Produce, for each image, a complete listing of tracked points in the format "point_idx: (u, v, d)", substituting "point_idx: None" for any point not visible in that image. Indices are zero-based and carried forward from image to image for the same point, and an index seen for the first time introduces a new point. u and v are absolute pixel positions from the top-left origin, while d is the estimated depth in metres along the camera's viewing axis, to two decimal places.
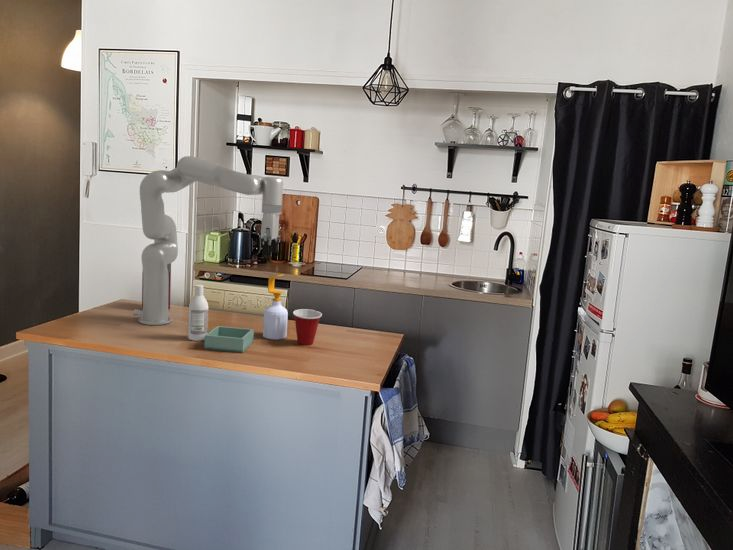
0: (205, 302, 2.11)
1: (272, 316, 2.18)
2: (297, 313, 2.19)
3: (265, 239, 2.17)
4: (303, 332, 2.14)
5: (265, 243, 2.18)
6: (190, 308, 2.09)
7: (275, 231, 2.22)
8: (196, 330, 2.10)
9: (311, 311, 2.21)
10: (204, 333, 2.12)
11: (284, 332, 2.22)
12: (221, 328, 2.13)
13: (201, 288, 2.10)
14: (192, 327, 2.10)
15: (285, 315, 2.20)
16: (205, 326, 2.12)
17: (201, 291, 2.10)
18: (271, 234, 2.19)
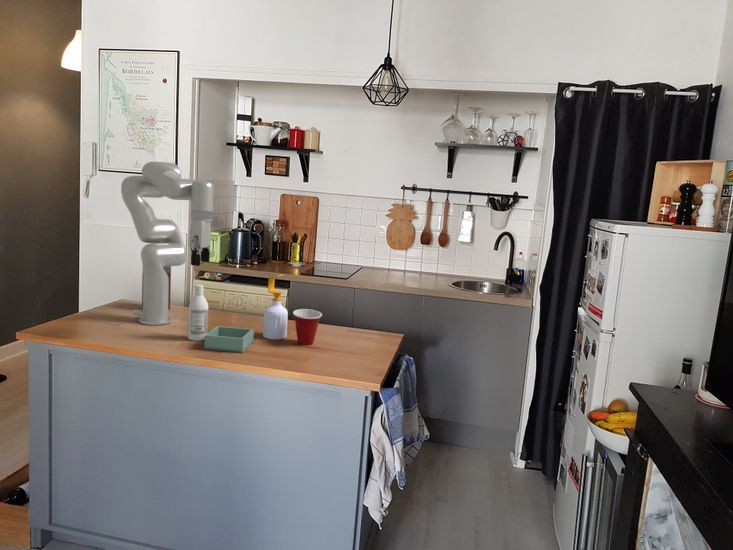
0: (205, 302, 2.11)
1: (272, 316, 2.18)
2: (297, 313, 2.19)
3: (192, 248, 2.01)
4: (303, 332, 2.14)
5: (193, 252, 2.02)
6: (190, 308, 2.09)
7: (205, 239, 2.06)
8: (196, 330, 2.10)
9: (311, 311, 2.21)
10: (204, 333, 2.12)
11: (284, 332, 2.22)
12: (221, 328, 2.13)
13: (201, 288, 2.10)
14: (192, 327, 2.10)
15: (285, 315, 2.20)
16: (205, 326, 2.12)
17: (201, 291, 2.10)
18: (200, 242, 2.03)
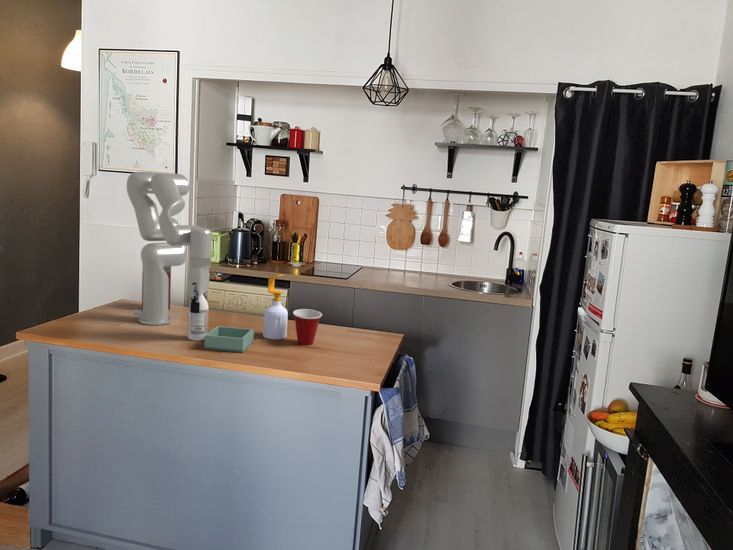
0: (205, 302, 2.11)
1: (272, 316, 2.18)
2: (297, 313, 2.19)
3: (192, 297, 2.04)
4: (303, 332, 2.14)
5: (192, 300, 2.06)
6: None
7: (203, 285, 2.09)
8: (196, 330, 2.10)
9: (311, 311, 2.21)
10: (204, 333, 2.12)
11: (284, 332, 2.22)
12: (221, 328, 2.13)
13: None
14: (192, 327, 2.10)
15: (285, 315, 2.20)
16: (206, 326, 2.12)
17: None
18: (198, 289, 2.06)
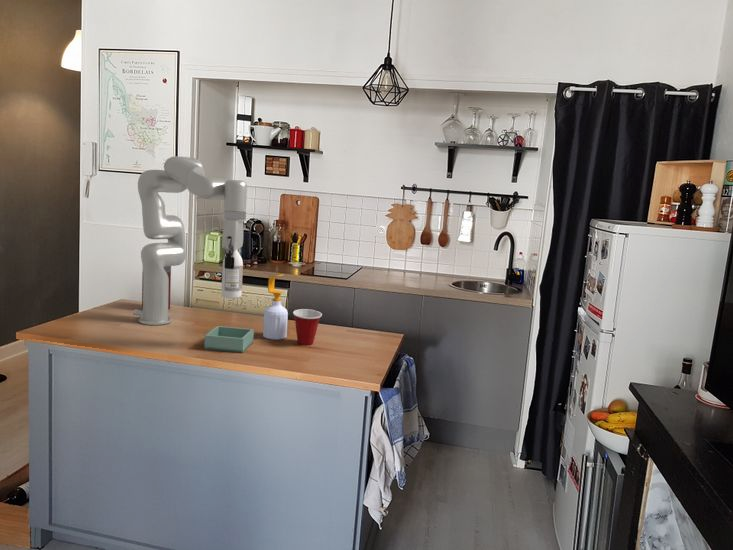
0: (240, 258, 2.02)
1: (272, 316, 2.18)
2: (297, 313, 2.19)
3: (227, 251, 1.96)
4: (303, 332, 2.14)
5: (227, 255, 1.97)
6: (224, 264, 2.01)
7: (238, 240, 2.00)
8: (231, 287, 2.01)
9: (311, 311, 2.21)
10: (238, 290, 2.03)
11: (284, 332, 2.22)
12: (221, 328, 2.13)
13: None
14: (226, 283, 2.01)
15: (285, 315, 2.20)
16: (240, 283, 2.03)
17: None
18: (233, 243, 1.97)
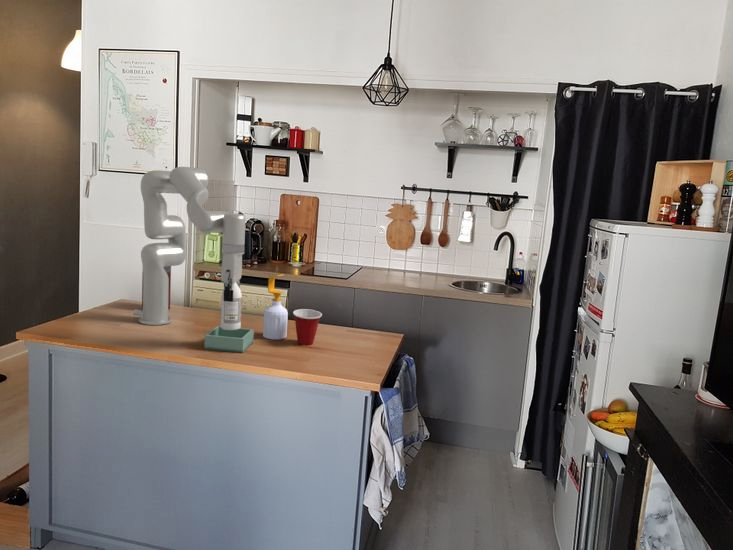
0: (239, 290, 2.04)
1: (272, 316, 2.18)
2: (297, 313, 2.19)
3: (226, 285, 1.98)
4: (303, 332, 2.14)
5: (226, 288, 1.99)
6: (223, 296, 2.02)
7: (237, 273, 2.02)
8: (230, 319, 2.03)
9: (311, 311, 2.21)
10: (237, 322, 2.05)
11: (284, 331, 2.22)
12: (221, 328, 2.13)
13: None
14: (225, 316, 2.03)
15: (285, 315, 2.20)
16: (239, 315, 2.05)
17: None
18: (232, 277, 1.99)
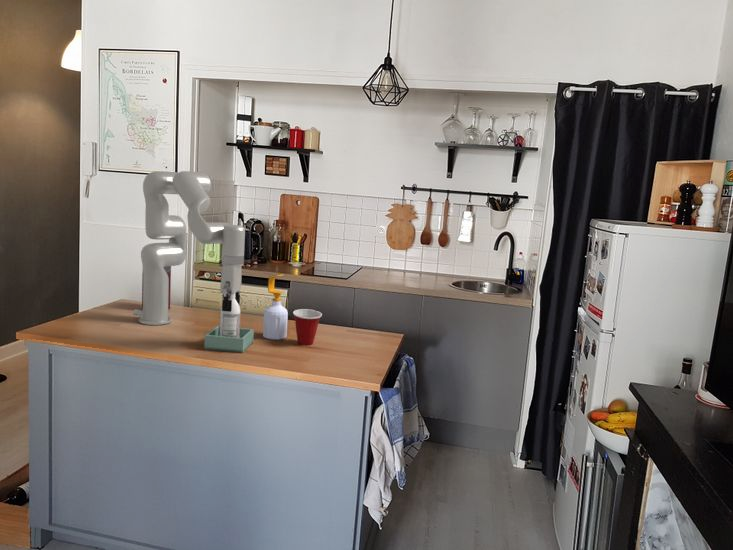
0: (237, 306, 2.05)
1: (272, 316, 2.18)
2: (297, 313, 2.19)
3: (224, 294, 1.97)
4: (303, 332, 2.14)
5: (225, 298, 1.99)
6: (222, 312, 2.04)
7: (236, 284, 2.02)
8: (228, 335, 2.04)
9: (311, 311, 2.21)
10: None
11: (284, 332, 2.22)
12: None
13: None
14: (224, 331, 2.04)
15: (285, 315, 2.20)
16: (237, 331, 2.06)
17: (233, 294, 2.04)
18: (231, 288, 2.00)
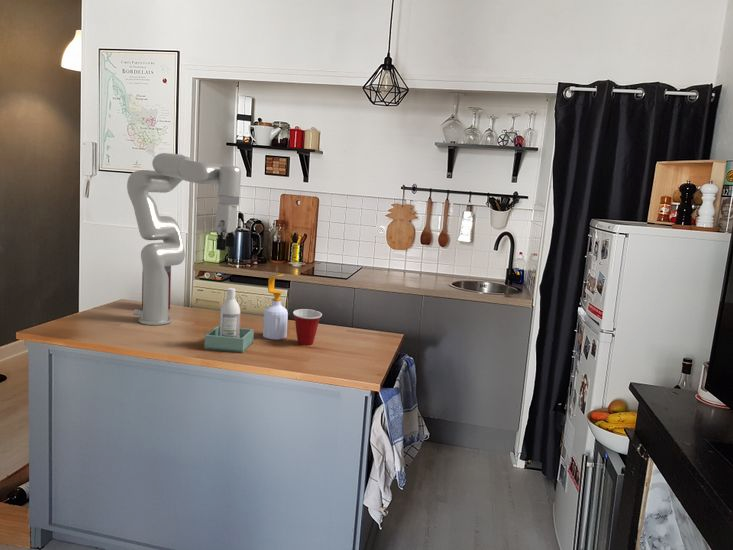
0: (237, 306, 2.05)
1: (272, 316, 2.18)
2: (297, 313, 2.19)
3: (219, 233, 2.01)
4: (303, 332, 2.14)
5: (219, 237, 2.03)
6: (222, 312, 2.03)
7: (231, 224, 2.06)
8: (228, 335, 2.04)
9: (311, 311, 2.21)
10: None
11: (284, 332, 2.22)
12: None
13: (233, 291, 2.04)
14: (224, 331, 2.04)
15: (285, 315, 2.20)
16: (237, 331, 2.06)
17: (233, 295, 2.04)
18: (226, 227, 2.04)
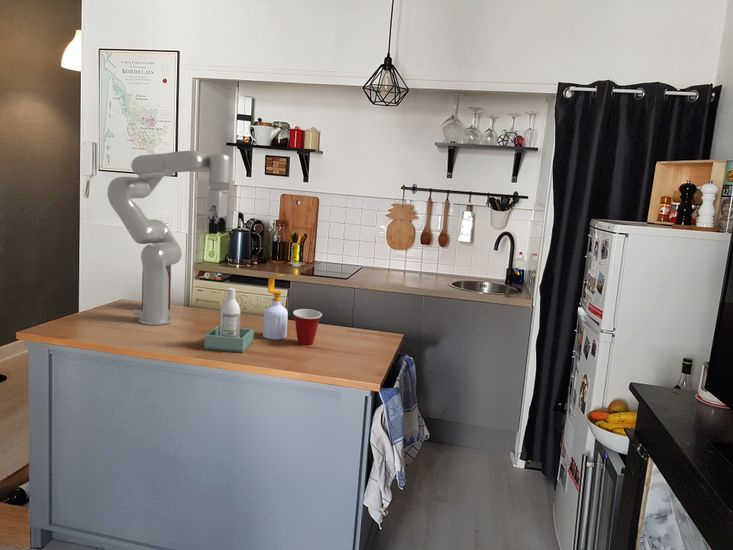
0: (237, 306, 2.05)
1: (272, 316, 2.18)
2: (297, 313, 2.19)
3: (210, 217, 2.11)
4: (303, 332, 2.14)
5: (211, 221, 2.12)
6: (222, 312, 2.03)
7: (222, 209, 2.16)
8: (228, 335, 2.04)
9: (311, 311, 2.21)
10: None
11: (284, 331, 2.22)
12: None
13: (233, 291, 2.04)
14: (224, 331, 2.04)
15: (285, 315, 2.20)
16: (237, 331, 2.06)
17: (233, 295, 2.04)
18: (217, 212, 2.13)
